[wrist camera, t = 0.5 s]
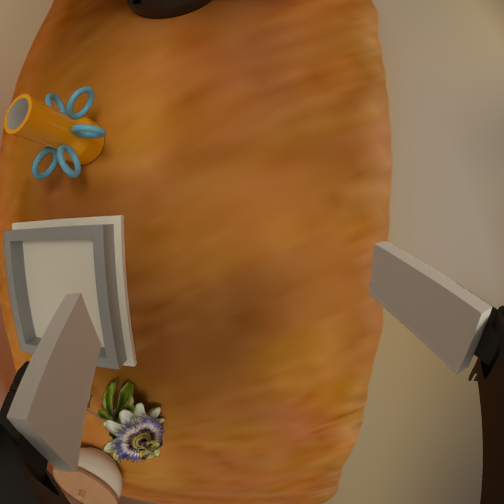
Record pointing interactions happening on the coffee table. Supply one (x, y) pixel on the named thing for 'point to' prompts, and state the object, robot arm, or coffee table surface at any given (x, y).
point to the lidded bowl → (92, 478)
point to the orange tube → (57, 130)
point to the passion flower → (130, 425)
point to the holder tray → (71, 280)
